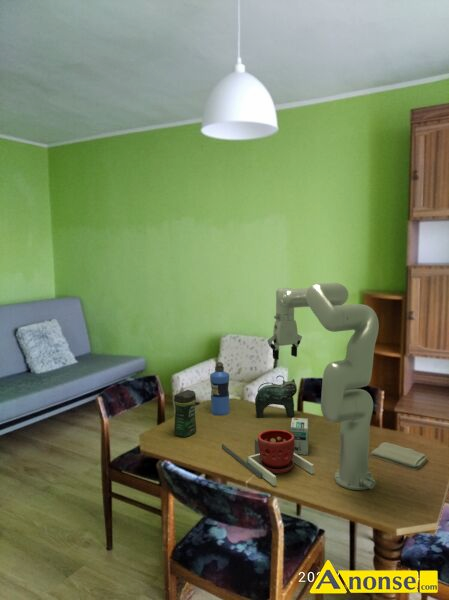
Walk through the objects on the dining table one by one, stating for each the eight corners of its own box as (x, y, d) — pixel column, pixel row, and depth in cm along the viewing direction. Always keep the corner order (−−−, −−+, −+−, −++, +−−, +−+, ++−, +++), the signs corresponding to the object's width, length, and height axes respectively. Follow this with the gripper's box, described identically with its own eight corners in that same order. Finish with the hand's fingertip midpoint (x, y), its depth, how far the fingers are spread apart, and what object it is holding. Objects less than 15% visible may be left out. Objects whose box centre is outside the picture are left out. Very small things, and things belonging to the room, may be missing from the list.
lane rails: (303, 465, 160) (303, 461, 160) (260, 478, 151) (260, 474, 151) (261, 438, 184) (261, 434, 184) (221, 448, 175) (221, 444, 175)
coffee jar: (186, 439, 185) (185, 396, 183) (171, 435, 189) (170, 393, 187) (199, 431, 193) (198, 390, 191) (185, 427, 197) (184, 387, 195)
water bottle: (221, 407, 222) (220, 359, 220) (233, 412, 215) (233, 362, 213) (206, 412, 216) (206, 362, 214) (218, 417, 209) (218, 365, 207)
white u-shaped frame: (313, 473, 154) (313, 456, 153) (273, 485, 146) (273, 468, 145) (276, 448, 174) (276, 434, 173) (239, 458, 165) (238, 443, 165)
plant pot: (296, 460, 164) (296, 429, 163) (292, 478, 151) (292, 444, 150) (261, 457, 167) (261, 426, 166) (255, 473, 155) (254, 441, 153)
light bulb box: (308, 455, 168) (308, 428, 167) (290, 454, 170) (290, 427, 168) (308, 443, 179) (308, 418, 178) (291, 442, 180) (291, 417, 179)
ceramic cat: (296, 414, 212) (296, 373, 210) (298, 419, 205) (298, 377, 203) (254, 414, 212) (254, 374, 210) (255, 419, 206) (255, 377, 204)
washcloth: (417, 473, 155) (418, 464, 154) (368, 457, 167) (369, 450, 166) (428, 461, 163) (429, 453, 163) (381, 447, 175) (381, 440, 175)
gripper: (273, 320, 177) (273, 362, 179) (306, 317, 185) (306, 356, 187) (262, 318, 184) (263, 358, 185) (295, 315, 192) (295, 353, 194)
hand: (285, 357), depth 186 cm, fingers open, 9 cm apart
